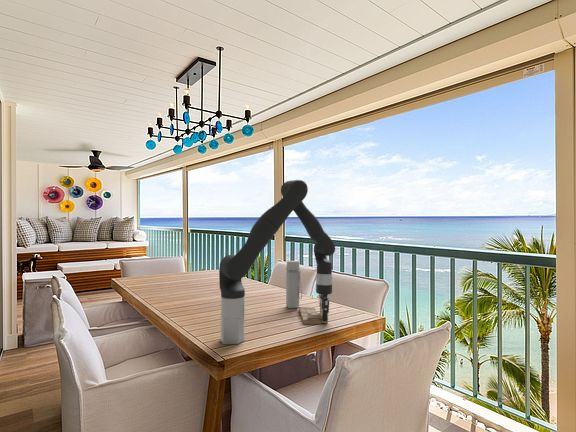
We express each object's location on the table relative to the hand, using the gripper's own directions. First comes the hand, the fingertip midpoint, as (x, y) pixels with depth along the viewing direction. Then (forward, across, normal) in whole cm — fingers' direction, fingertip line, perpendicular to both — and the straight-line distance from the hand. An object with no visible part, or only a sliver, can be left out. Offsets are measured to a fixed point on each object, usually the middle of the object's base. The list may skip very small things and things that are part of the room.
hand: (323, 319), depth 152 cm
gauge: (+1, 0, +3) cm, 3 cm away
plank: (+1, +8, +6) cm, 10 cm away
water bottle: (+1, +26, +12) cm, 29 cm away
